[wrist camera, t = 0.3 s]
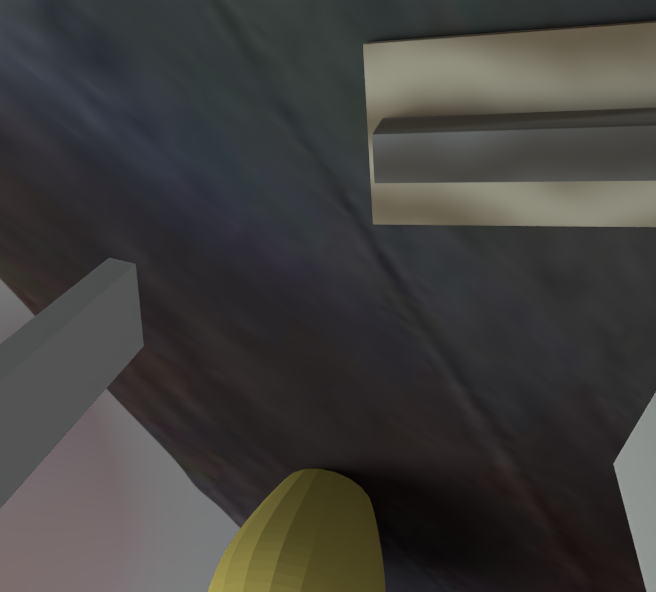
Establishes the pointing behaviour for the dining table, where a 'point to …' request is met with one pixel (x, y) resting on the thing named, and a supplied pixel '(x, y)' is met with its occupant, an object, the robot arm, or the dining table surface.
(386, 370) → the dining table surface
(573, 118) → the rail block
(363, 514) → the vase
